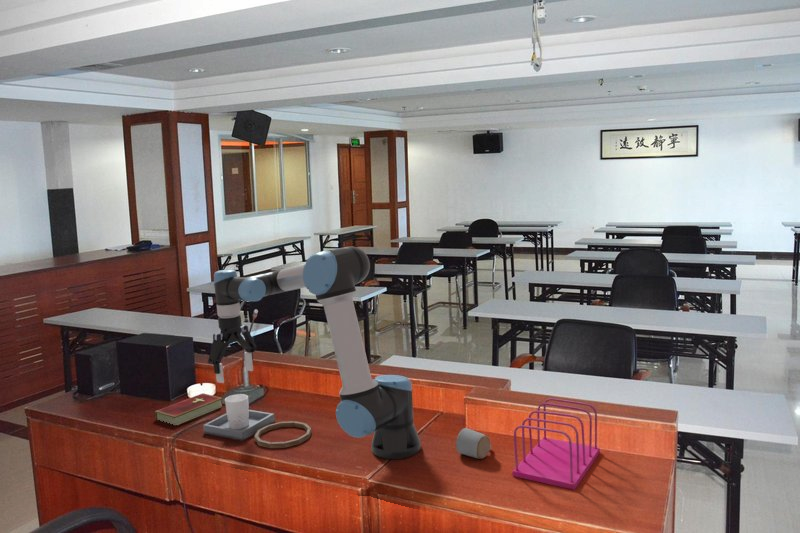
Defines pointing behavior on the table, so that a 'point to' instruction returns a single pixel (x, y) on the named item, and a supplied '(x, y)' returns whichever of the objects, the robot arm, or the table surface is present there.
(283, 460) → the table surface
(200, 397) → the hardcover book
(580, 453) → the file sorter
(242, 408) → the white cup
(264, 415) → the tray
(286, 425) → the holder ring
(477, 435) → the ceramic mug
